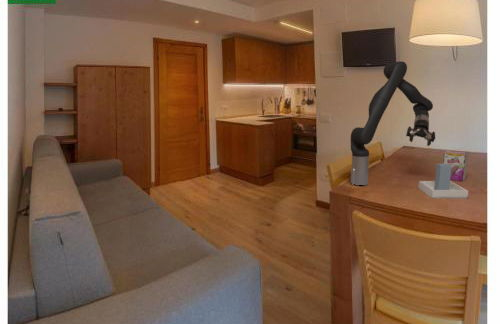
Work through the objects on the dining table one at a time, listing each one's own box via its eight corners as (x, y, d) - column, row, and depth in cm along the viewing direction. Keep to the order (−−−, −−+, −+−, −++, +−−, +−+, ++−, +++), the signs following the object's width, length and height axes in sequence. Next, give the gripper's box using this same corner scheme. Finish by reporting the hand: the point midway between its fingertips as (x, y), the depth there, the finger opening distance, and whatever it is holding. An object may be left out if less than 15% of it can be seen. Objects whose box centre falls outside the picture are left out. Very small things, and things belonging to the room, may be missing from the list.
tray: (432, 198, 154) (432, 190, 153) (418, 188, 172) (419, 181, 171) (467, 198, 152) (468, 190, 151) (450, 188, 169) (450, 181, 168)
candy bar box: (441, 178, 188) (443, 152, 185) (444, 177, 192) (446, 150, 188) (462, 181, 180) (465, 154, 177) (465, 180, 183) (468, 152, 180)
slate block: (438, 192, 159) (440, 165, 157) (434, 189, 164) (436, 163, 161) (448, 192, 159) (451, 165, 156) (444, 189, 163) (446, 163, 161)
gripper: (410, 116, 178) (408, 134, 169) (437, 122, 174) (437, 141, 165) (406, 126, 184) (403, 144, 174) (432, 131, 180) (431, 150, 170)
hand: (420, 142), depth 169 cm, fingers open, 8 cm apart
